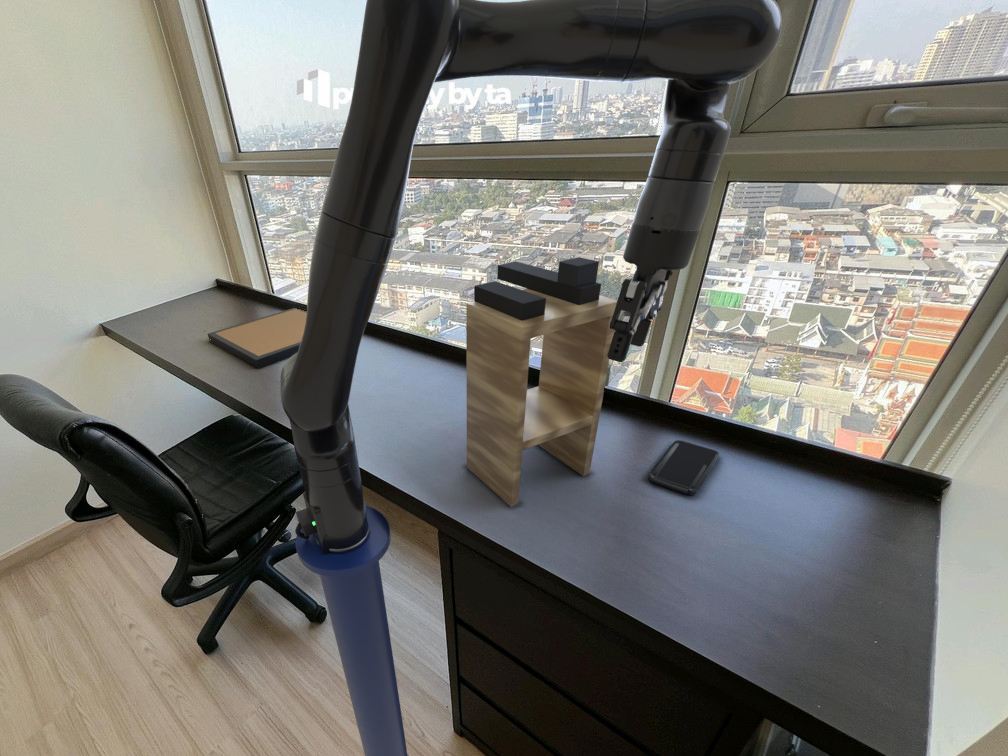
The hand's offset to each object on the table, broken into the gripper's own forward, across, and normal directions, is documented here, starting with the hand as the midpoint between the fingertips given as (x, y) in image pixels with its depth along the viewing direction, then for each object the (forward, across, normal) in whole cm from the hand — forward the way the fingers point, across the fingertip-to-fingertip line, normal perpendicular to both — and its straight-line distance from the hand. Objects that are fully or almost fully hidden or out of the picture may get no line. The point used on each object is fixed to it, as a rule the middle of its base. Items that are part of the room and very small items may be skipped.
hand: (625, 352), depth 66 cm
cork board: (+35, -29, -114) cm, 123 cm away
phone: (+25, -22, +11) cm, 35 cm away
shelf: (+28, -6, -12) cm, 31 cm away
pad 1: (-2, +2, -18) cm, 18 cm away
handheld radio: (+26, -34, -16) cm, 46 cm away
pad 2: (-4, -9, -17) cm, 20 cm away
